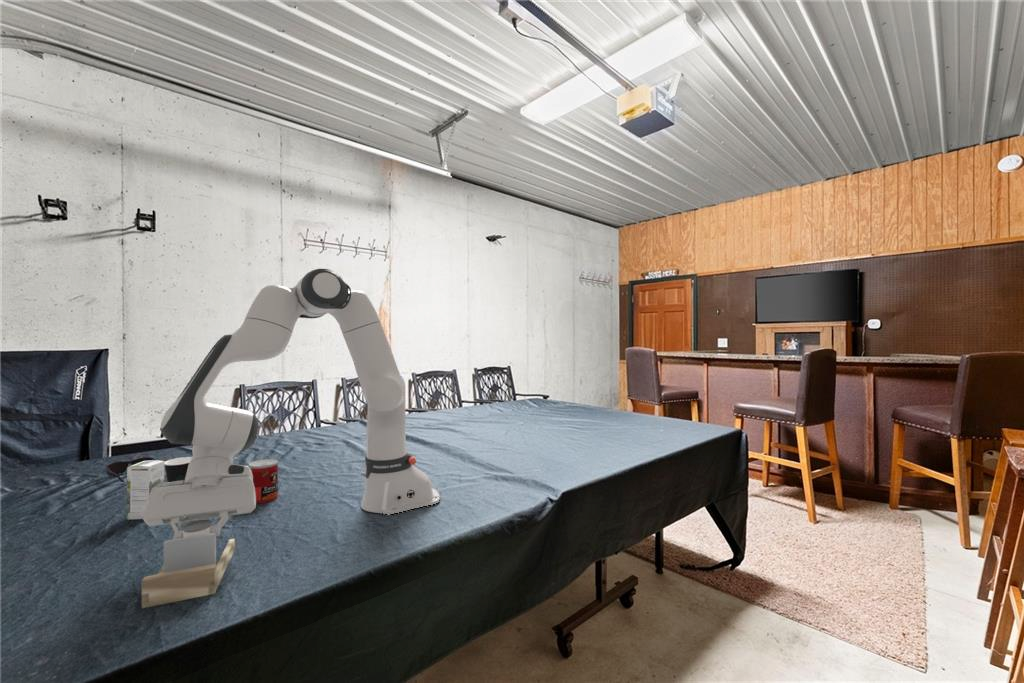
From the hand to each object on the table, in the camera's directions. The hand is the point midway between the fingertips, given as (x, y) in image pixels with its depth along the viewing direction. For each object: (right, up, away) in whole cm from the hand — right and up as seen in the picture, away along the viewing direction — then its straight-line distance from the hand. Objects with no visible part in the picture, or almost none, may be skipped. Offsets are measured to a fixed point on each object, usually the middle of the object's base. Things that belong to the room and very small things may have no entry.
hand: (196, 538), depth 89 cm
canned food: (-9, -6, +39) cm, 41 cm away
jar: (0, -4, +1) cm, 4 cm away
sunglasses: (-67, -7, +61) cm, 91 cm away
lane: (+1, -7, -2) cm, 7 cm away
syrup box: (-34, -7, +27) cm, 44 cm away
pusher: (+2, -7, -4) cm, 8 cm away
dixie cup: (-36, -7, +42) cm, 56 cm away
